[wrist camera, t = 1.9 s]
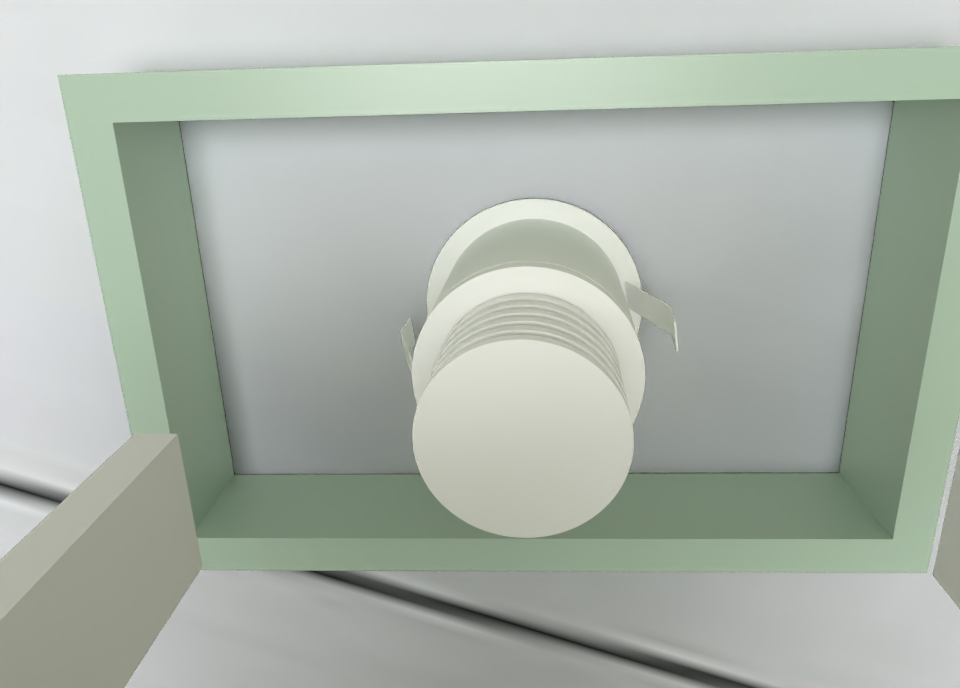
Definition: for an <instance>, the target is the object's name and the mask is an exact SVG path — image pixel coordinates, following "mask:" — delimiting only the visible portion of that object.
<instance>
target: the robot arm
mask: <svg viewBox="0 0 960 688" xmlns="http://www.w3.org/2000/svg"><path fill="white" fill-rule="evenodd" d="M201 568H202V561H201V556H200V551H199V545H198V540H197V535H196V529H195V524H194V519H193V513H192V508H191V503H190V497H189V492H188V487H187V481H186V476H185V471H184V465H183V460H182V455H181V449H180V444H179V439H178V434H134V435H133V436H132V437H131V438H130V439H129V440H128V441H127V442H126V443H124V444H123V445H122V446H121V447H120V448H119V449H118V450H117V451H116V452H115V453H114V454H113V455H112V456H111V457H110V458H108V459H107V460H106V461H105V462H104V463H103V464H102V465H101V466H100V467H99V468H98V469H97V470H96V471H95V472H94V473H93V474H91V475H90V476H89V477H88V478H87V479H86V480H85V481H84V482H83V483H82V484H81V485H80V486H79V487H78V488H77V489H75V490H74V491H73V492H72V493H71V494H70V495H69V496H68V497H67V498H66V499H65V500H64V501H63V502H62V503H61V504H60V505H58V506H57V507H56V508H55V509H54V510H53V511H52V512H51V513H50V514H49V515H48V516H47V517H46V518H45V519H44V520H42V521H41V522H40V523H39V524H38V525H37V526H36V527H35V528H34V529H33V530H32V531H31V532H30V533H29V534H28V535H26V536H25V537H24V538H23V539H22V540H21V541H20V542H19V543H18V544H17V545H16V546H15V547H14V548H13V549H12V550H11V551H9V552H8V553H7V554H6V555H5V556H4V557H3V558H2V559H1V560H0V688H124V687H125V685H126V684H127V682H128V681H129V679H130V678H131V676H132V675H133V673H134V671H135V670H136V668H137V667H138V665H139V664H140V662H141V661H142V659H143V658H144V656H145V654H146V653H147V651H148V650H149V648H150V647H151V645H152V644H153V642H154V641H155V639H156V637H157V636H158V634H159V633H160V631H161V630H162V628H163V627H164V625H165V624H166V622H167V620H168V619H169V617H170V616H171V614H172V613H173V611H174V610H175V608H176V607H177V605H178V603H179V602H180V600H181V599H182V597H183V596H184V594H185V593H186V591H187V590H188V588H189V586H190V585H191V583H192V582H193V580H194V579H195V577H196V576H197V574H198V573H199V571H200V569H201ZM933 576H934V577H935V579H936V580H937V581H938V582H939V584H940V585H941V586H942V587H943V589H944V590H945V591H946V592H947V594H948V595H949V596H950V597H951V599H952V600H953V601H954V602H955V604H956V605H957V606H958V607H959V609H960V448H959V453H958V458H957V462H956V467H955V472H954V476H953V481H952V486H951V490H950V495H949V500H948V504H947V509H946V514H945V519H944V523H943V528H942V533H941V537H940V542H939V547H938V551H937V556H936V561H935V565H934V570H933Z"/></svg>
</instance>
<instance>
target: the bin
mask: <svg viewBox="0 0 960 688" xmlns="http://www.w3.org/2000/svg"><path fill="white" fill-rule="evenodd" d="M58 80H59V84H60V89H61V94H62V99H63V104H64V109H65V114H66V119H67V124H68V128H69V133H70V138H71V143H72V148H73V153H74V158H75V163H76V167H77V172H78V177H79V182H80V187H81V192H82V197H83V202H84V206H85V211H86V216H87V221H88V226H89V231H90V236H91V241H92V246H93V250H94V255H95V260H96V265H97V270H98V275H99V280H100V285H101V289H102V294H103V299H104V304H105V309H106V314H107V319H108V324H109V328H110V333H111V338H112V343H113V348H114V353H115V358H116V363H117V368H118V372H119V377H120V382H121V387H122V392H123V397H124V402H125V407H126V411H127V416H128V421H129V426H130V431H131V436H133V435H134V434H178V439H179V444H180V449H181V455H182V460H183V465H184V471H185V476H186V481H187V487H188V492H189V497H190V503H191V508H192V513H193V519H194V524H195V529H196V535H197V540H198V545H199V551H200V556H201V561H202V568H201V569H200V570H310V571H553V572H796V573H927V571H928V566H929V561H930V556H931V551H932V547H933V542H934V537H935V532H936V527H937V522H938V517H939V512H940V507H941V502H942V497H943V492H944V488H945V483H946V478H947V473H948V468H949V463H950V458H951V453H952V448H953V443H954V438H955V433H956V429H957V424H958V419H959V414H960V46H954V47H923V48H891V49H860V50H828V51H797V52H766V53H734V54H703V55H671V56H640V57H608V58H577V59H545V60H514V61H483V62H451V63H420V64H388V65H357V66H325V67H294V68H262V69H231V70H199V71H168V72H137V73H105V74H74V75H58ZM864 101H894V107H893V113H892V120H891V127H890V133H889V140H888V147H887V154H886V160H885V167H884V174H883V181H882V187H881V194H880V201H879V207H878V214H877V221H876V228H875V234H874V241H873V248H872V255H871V261H870V268H869V275H868V282H867V288H866V295H865V302H864V308H863V315H862V322H861V329H860V335H859V342H858V349H857V356H856V362H855V369H854V376H853V382H852V389H851V396H850V403H849V409H848V416H847V423H846V430H845V436H844V443H843V450H842V457H841V463H840V470H839V473H668V474H628V475H627V477H626V479H625V481H624V483H623V485H622V487H621V489H620V490H619V491H618V493H617V494H616V496H615V497H614V498H613V499H612V501H611V502H610V503H609V504H608V505H607V506H606V507H605V508H604V509H603V510H602V511H601V512H599V513H598V514H597V515H596V516H594V517H593V518H591V519H590V520H588V521H587V522H585V523H583V524H581V525H579V526H577V527H575V528H573V529H570V530H568V531H565V532H562V533H559V534H555V535H550V536H544V537H536V538H516V537H508V536H502V535H497V534H494V533H490V532H487V531H484V530H482V529H479V528H476V527H474V526H472V525H470V524H468V523H466V522H465V521H463V520H461V519H460V518H458V517H457V516H455V515H454V514H453V513H451V512H450V511H449V510H448V509H447V508H445V507H444V506H443V505H442V504H441V503H440V502H439V501H438V500H437V499H436V497H435V496H434V495H433V494H432V492H431V491H430V490H429V488H428V486H427V485H426V483H425V482H424V480H423V478H422V476H421V474H301V475H234V470H233V463H232V457H231V450H230V444H229V438H228V431H227V425H226V419H225V412H224V406H223V399H222V393H221V387H220V380H219V374H218V368H217V361H216V355H215V348H214V342H213V336H212V329H211V323H210V317H209V310H208V304H207V298H206V291H205V285H204V278H203V272H202V266H201V259H200V253H199V247H198V240H197V234H196V227H195V221H194V215H193V208H192V202H191V196H190V189H189V183H188V177H187V170H186V164H185V157H184V151H183V145H182V138H181V132H180V126H179V121H191V120H226V119H262V118H297V117H333V116H368V115H403V114H439V113H474V112H510V111H545V110H581V109H616V108H651V107H687V106H722V105H758V104H793V103H829V102H864Z"/></svg>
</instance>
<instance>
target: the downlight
mask: <svg viewBox="0 0 960 688" xmlns="http://www.w3.org/2000/svg"><path fill="white" fill-rule="evenodd" d="M427 315H428V318H427V320H426V322H425V324H424V326H423V328H422V330H421V331H420V334H419V337H418V339H417V342H416V341H415V336H414V331H413V326H412V321H411V318H409V319H408V321H407V322H406V323H405V325H404V326H403V328H402V329H401V331H400V335H401V340H402V344H403V349H404V354H405V358H406V361H407V363H408V366H409V369H410V371H411V374H412V384H413V391H414V395H415V399H416V403H417V408H416V412H415V416H414V421H413V428H412V443H413V451H414V456H415V460H416V463H417V466H418V469H419V471H420V474H421V476H422V478H423V480H424V482H425V483H426V485H427V486H428V488H429V490H430V491H431V492H432V494H433V495H434V496H435V497H436V499H437V500H438V501H439V502H440V503H441V504H442V505H443V506H444V507H445V508H447V509H448V510H449V511H450V512H451V513H453V514H454V515H455V516H457V517H458V518H460V519H461V520H463V521H465V522H466V523H468V524H470V525H472V526H474V527H476V528H479V529H482V530H484V531H487V532H490V533H494V534H497V535H502V536H508V537H516V538H536V537H544V536H550V535H555V534H559V533H562V532H565V531H568V530H570V529H573V528H575V527H577V526H579V525H581V524H583V523H585V522H587V521H588V520H590V519H591V518H593V517H594V516H596V515H597V514H598V513H599V512H601V511H602V510H603V509H604V508H605V507H606V506H607V505H608V504H609V503H610V502H611V501H612V499H613V498H614V497H615V496H616V494H617V493H618V491H619V490H620V489H621V487H622V485H623V483H624V481H625V479H626V477H627V475H628V472H629V469H630V466H631V462H632V457H633V451H634V432H633V426H632V425H633V423H634V421H635V419H636V417H637V414H638V412H639V409H640V406H641V402H642V399H643V394H644V388H645V364H644V358H643V353H642V349H641V346H640V342H639V339H638V337H637V333H638V330H639V326H640V322H641V316H642V317H643V318H645V319H646V320H648V321H650V322H651V323H653V324H654V325H656V326H658V327H659V328H661V329H662V330H664V331H666V332H667V333H669V334H670V335H672V338H673V342H674V345H675V348H676V351H677V352H679V351H678V340H677V328H676V320H675V317H674V314H673V312H672V309H671V306H670V305H668V304H666V303H665V302H663V301H661V300H659V299H657V298H655V297H653V296H652V295H650V294H648V293H646V292H644V291H642V290H641V283H640V279H639V275H638V272H637V269H636V267H635V264H634V261H633V259H632V257H631V255H630V253H629V252H628V250H627V248H626V247H625V245H624V244H623V242H622V241H621V240H620V239H619V237H618V236H617V235H616V234H615V233H614V232H613V231H612V230H611V229H610V228H609V227H608V226H607V225H606V224H605V223H603V222H602V221H601V220H600V219H598V218H597V217H595V216H594V215H592V214H591V213H589V212H587V211H585V210H583V209H581V208H579V207H576V206H574V205H571V204H568V203H564V202H561V201H556V200H551V199H541V198H527V199H518V200H513V201H508V202H504V203H501V204H498V205H495V206H492V207H490V208H488V209H485V210H484V211H482V212H480V213H478V214H476V215H475V216H473V217H472V218H471V219H469V220H468V221H466V222H465V223H464V224H463V225H462V226H461V227H459V228H458V229H457V230H456V231H455V233H454V234H453V235H452V236H451V237H450V238H449V240H448V241H447V242H446V243H445V245H444V247H443V248H442V250H441V251H440V253H439V255H438V257H437V259H436V261H435V263H434V266H433V268H432V271H431V275H430V278H429V283H428V289H427ZM415 344H416V346H415V349H414V354H413V359H412V357H411V354H410V352H411V350H412V348H413V347H414V345H415Z"/></svg>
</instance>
